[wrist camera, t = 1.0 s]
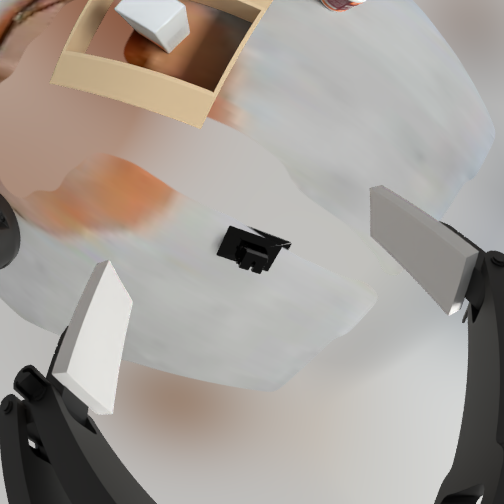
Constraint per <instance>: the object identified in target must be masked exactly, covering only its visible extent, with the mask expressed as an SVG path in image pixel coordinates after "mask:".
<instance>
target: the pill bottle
mask: <svg viewBox="0 0 504 504" xmlns="http://www.w3.org/2000/svg"><path fill="white" fill-rule="evenodd" d="M321 1H322V3H323V4H324V5H325V6H326V7H327V8H328V9H330V10H332V11H335V12H343V11H346V10H348V9H350V8H352V7H354V6H356V5H358V4H360V3H363V2H364V1H366V0H321Z"/></svg>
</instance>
